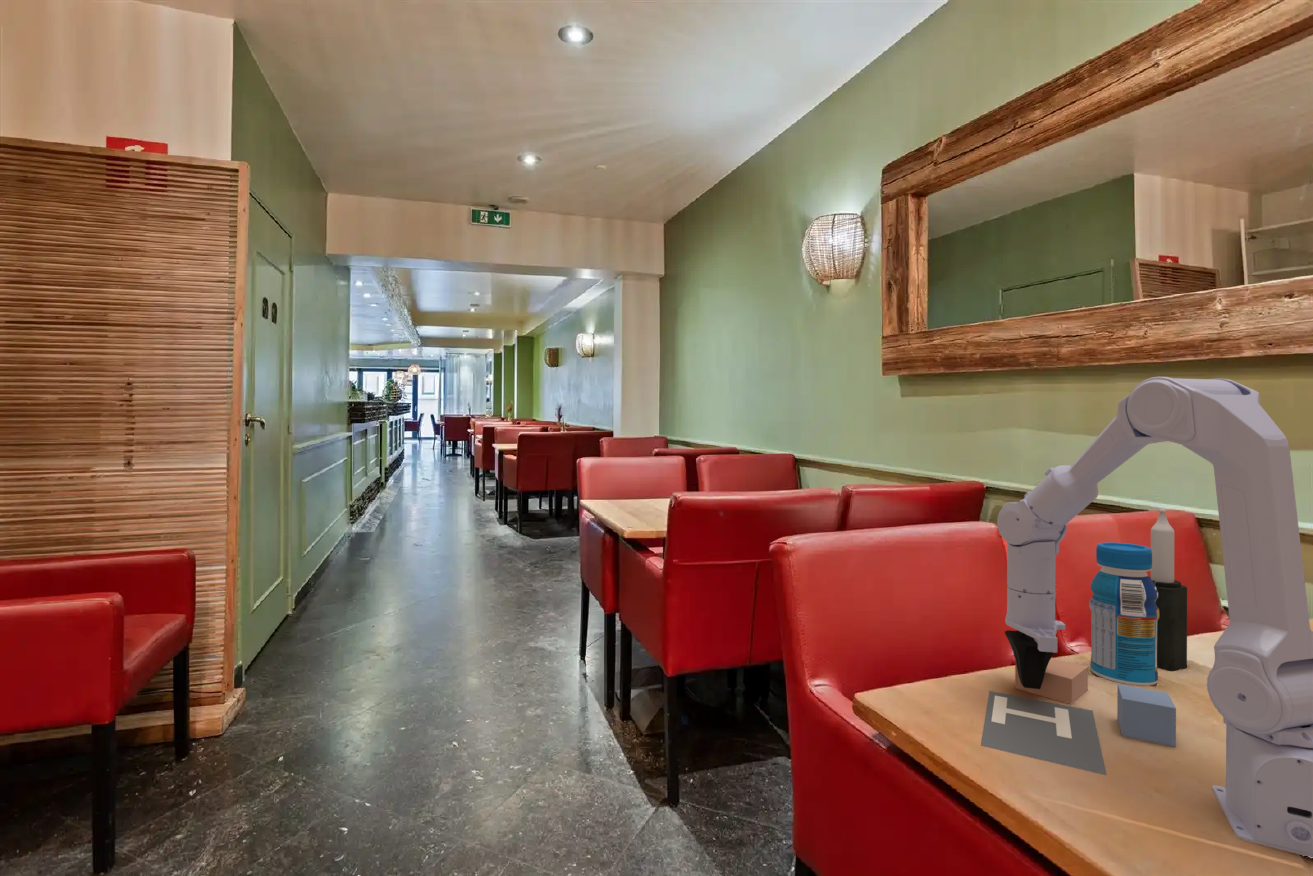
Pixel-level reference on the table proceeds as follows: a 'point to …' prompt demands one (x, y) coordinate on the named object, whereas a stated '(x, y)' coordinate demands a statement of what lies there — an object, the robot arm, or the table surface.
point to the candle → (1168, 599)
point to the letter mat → (1043, 731)
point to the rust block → (1060, 681)
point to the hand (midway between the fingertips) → (1030, 686)
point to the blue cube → (1146, 715)
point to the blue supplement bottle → (1124, 615)
